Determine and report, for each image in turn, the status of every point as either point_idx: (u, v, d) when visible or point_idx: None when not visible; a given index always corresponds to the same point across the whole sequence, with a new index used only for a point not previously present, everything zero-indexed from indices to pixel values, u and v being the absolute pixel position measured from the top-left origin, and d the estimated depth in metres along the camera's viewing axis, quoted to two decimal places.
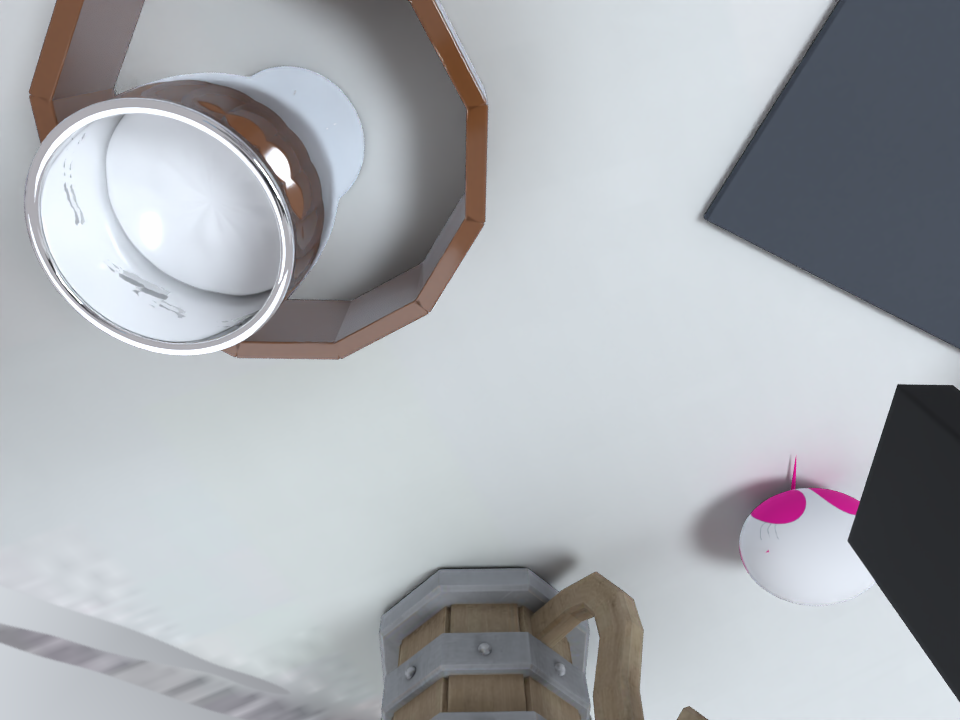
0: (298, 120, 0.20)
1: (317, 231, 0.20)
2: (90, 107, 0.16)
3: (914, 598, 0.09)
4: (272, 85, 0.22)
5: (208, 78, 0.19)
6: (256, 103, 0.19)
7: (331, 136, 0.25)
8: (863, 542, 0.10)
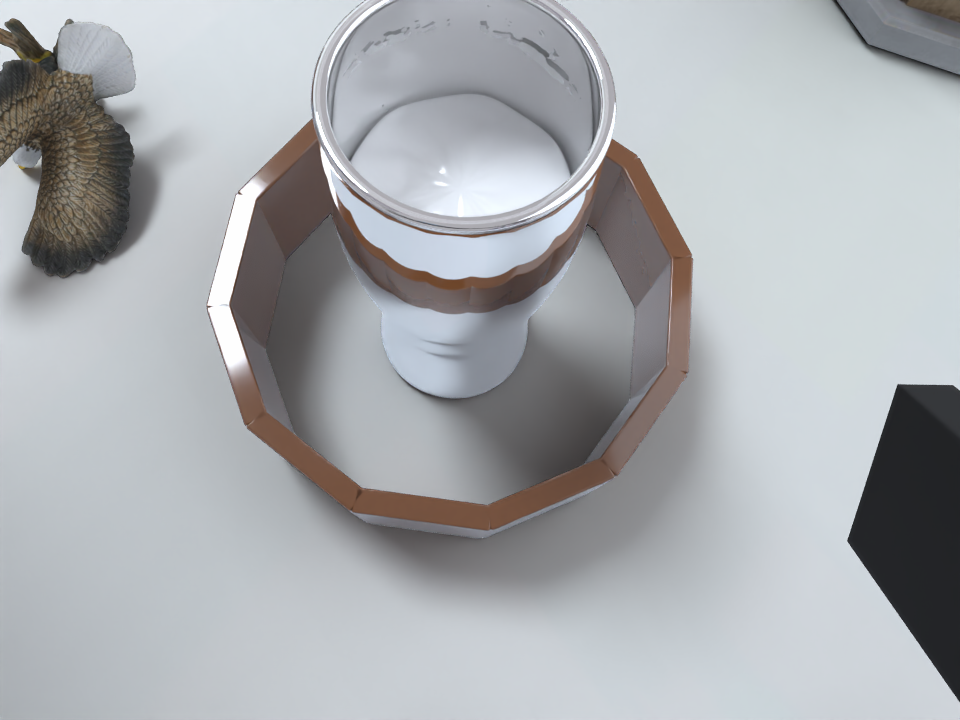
0: None
1: None
2: (345, 175, 0.14)
3: (914, 598, 0.09)
4: None
5: None
6: None
7: None
8: (863, 542, 0.10)
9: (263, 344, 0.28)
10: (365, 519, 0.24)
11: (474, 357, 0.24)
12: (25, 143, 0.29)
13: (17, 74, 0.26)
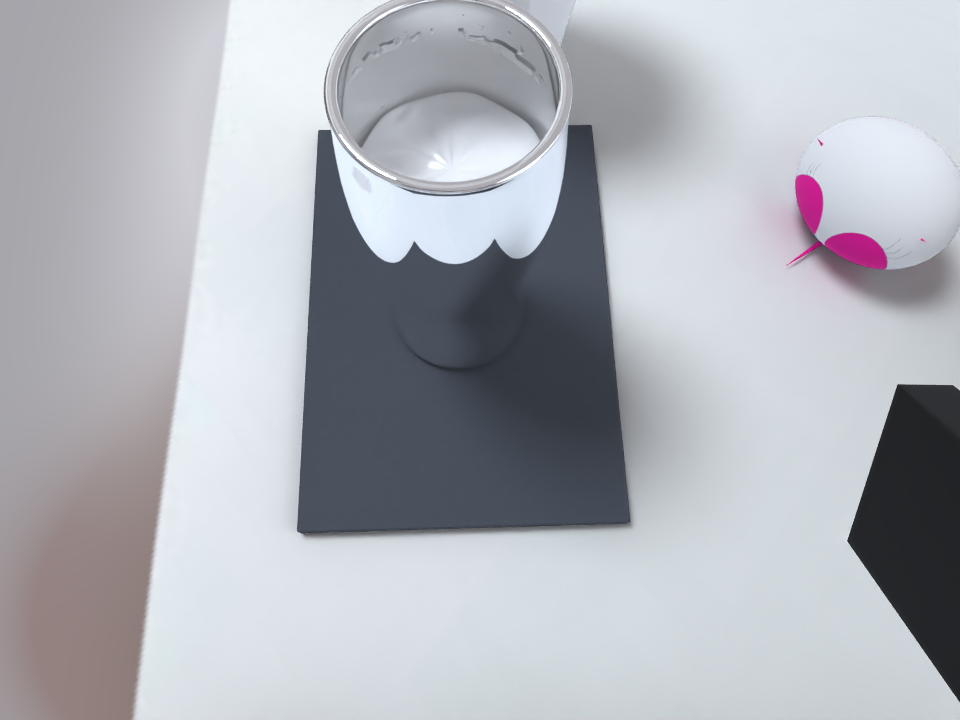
0: None
1: None
2: (355, 156, 0.18)
3: (914, 598, 0.09)
4: None
5: (344, 193, 0.21)
6: None
7: None
8: (863, 542, 0.10)
9: None
10: None
11: (477, 324, 0.28)
12: None
13: None
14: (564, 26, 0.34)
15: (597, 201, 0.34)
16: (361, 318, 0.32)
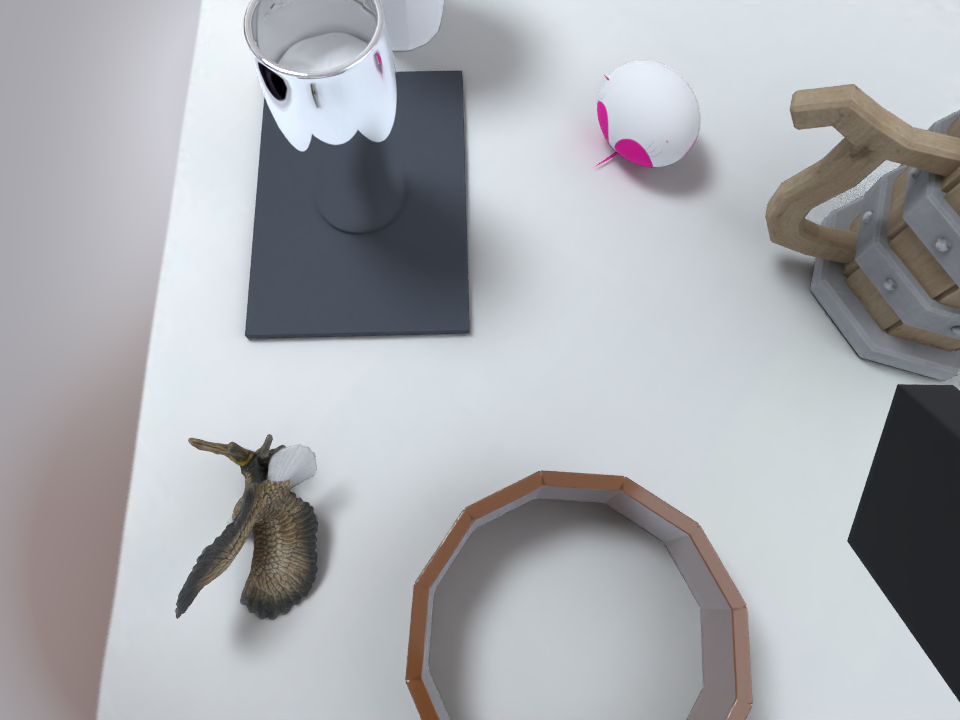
0: None
1: None
2: (259, 57, 0.32)
3: (914, 598, 0.09)
4: None
5: None
6: None
7: None
8: (863, 542, 0.10)
9: (427, 666, 0.38)
10: None
11: (361, 191, 0.42)
12: None
13: (248, 502, 0.36)
14: None
15: (462, 123, 0.49)
16: (292, 200, 0.47)
